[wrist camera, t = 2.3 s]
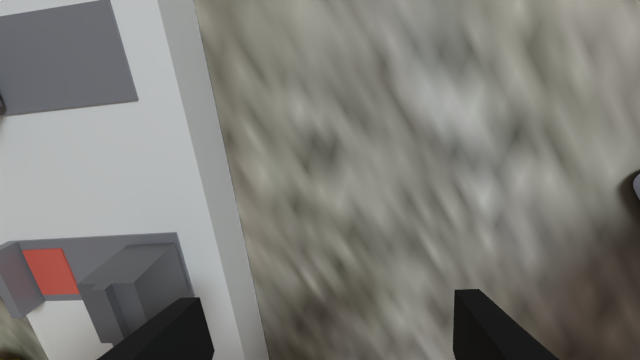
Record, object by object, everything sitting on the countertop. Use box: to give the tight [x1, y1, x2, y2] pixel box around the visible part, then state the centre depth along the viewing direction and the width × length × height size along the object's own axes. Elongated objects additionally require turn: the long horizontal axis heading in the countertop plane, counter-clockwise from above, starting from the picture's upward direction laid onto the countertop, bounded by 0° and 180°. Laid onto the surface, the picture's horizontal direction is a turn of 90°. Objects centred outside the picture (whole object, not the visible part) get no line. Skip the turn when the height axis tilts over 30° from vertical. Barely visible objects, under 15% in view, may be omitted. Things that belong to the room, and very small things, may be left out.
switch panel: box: [0, 0, 269, 360], centre depth 14 cm, size 23×10×4 cm, turn 7°
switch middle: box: [76, 243, 190, 347], centre depth 11 cm, size 2×2×3 cm
